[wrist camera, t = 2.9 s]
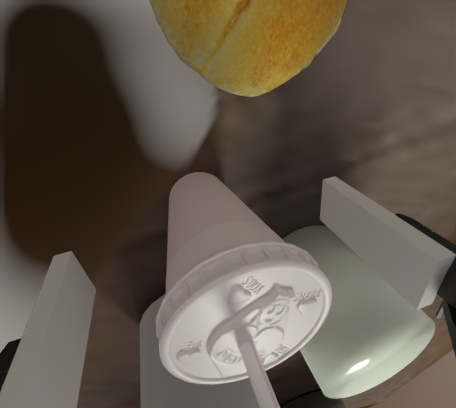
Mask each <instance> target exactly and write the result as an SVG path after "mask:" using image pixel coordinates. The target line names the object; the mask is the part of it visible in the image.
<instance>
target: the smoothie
mask: <svg viewBox="0 0 456 408" xmlns="http://www.w3.org/2000/svg"><path fill="white" fill-rule="evenodd" d="M331 301H332V288H331V285H330V282H329V280H328V278H327V277H326V276H325V274H324V273H323V272H322V271H321V270H320V269H319V267H318V264H317V262H316V261H315V260H314V259H313V257H312V256H311V255H310V254H309V253H308V252H307V251H305V250H303V249H301V248H299V247H297V246H295V245H293V244H291V243H285V242H284V241H283V240H282V239H281V238H280V237H279V236H278V235H277V234H276V233H275V232H274V231H273V230H271V229H270V228H269V227H268V226H267V225H266V224H265V223H264V222H263V221H262V220H261V219H260V218H259V217H258V216H257V215H256V214H255V213H254V212H253V211H252V210H250V209H249V208H248V207H247V206H246V205H245V204H244V203H243V202H242V201H241V200H240V199H239V198H238V197H237V196H236V195H235V194H234V193H233V192H232V191H231V190H230V189H228V188H227V187H226V186H225V185H224V184H223V183H222V182H221V181H220V180H219V179H218V178H217V177H215V176H214V175H212V174H209V173H206V172H194V173H190V174H188V175H185V176H184V177H182V178H180V179H179V180H178V181H177V182H176V183H175V184H174V186H173V187H172V189H171V192H170V195H169V215H168V243H167V272H166V296H165V297H164V299H163V300H162V303H161V305H160V308H159V311H158V314H157V316H156V336H157V338H158V340H159V354H160V358H161V361H162V363H163V365H164V367H165V368H166V369H167V370H168V371H169V372H170V373H171V374H172V375H174V376H175V377H177V378H179V379H182V380H184V381H186V382H190V383H196V384H211V385H214V384H223V383H230V382H234V381H239V380H242V379H245V378H248V377H249V379H250V382H251V385H252V388H253V390H254V393H255V396H256V399H257V402H258V405H259V408H280V406H279V404H278V401H277V399H276V396H275V394H274V391H273V389H272V386H271V384H270V381H269V379H268V376H267V374H266V370H268V369H270V368H272V367H274V366H276V365H278V364H280V363H281V362H283V361H284V360H286V359H287V358H289V357H290V356H292V355H293V354H295V353H296V352H297V351H298V350H299V349H301V348H302V347H303V346H304V345H305V344H306V343H307V342H308V341H309V340H310V339H311V338H312V337H313V336H314V335H315V334H316V332H317V331H318V330H319V328H320V327H321V326H322V324H323V322H324V321H325V319H326V317H327V315H328V312H329V309H330V306H331Z"/></svg>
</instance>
